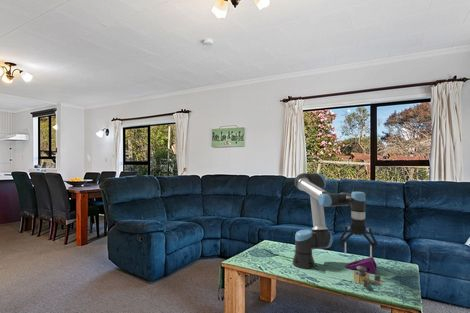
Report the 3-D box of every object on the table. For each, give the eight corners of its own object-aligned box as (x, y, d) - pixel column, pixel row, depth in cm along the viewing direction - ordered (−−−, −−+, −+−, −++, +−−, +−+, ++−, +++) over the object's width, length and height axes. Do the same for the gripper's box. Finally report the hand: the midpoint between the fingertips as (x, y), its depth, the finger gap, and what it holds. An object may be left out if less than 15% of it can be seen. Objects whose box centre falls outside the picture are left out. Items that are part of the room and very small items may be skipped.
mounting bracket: (349, 280, 186) (377, 274, 177) (344, 267, 188) (370, 261, 179) (352, 275, 194) (378, 269, 185) (347, 263, 196) (372, 256, 187)
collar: (352, 276, 174) (352, 269, 174) (367, 278, 172) (367, 270, 172) (357, 288, 158) (357, 280, 158) (373, 290, 156) (373, 282, 156)
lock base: (338, 284, 166) (338, 269, 166) (335, 275, 179) (335, 261, 179) (390, 290, 159) (390, 275, 159) (383, 280, 172) (383, 265, 172)
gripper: (335, 217, 164) (334, 253, 164) (382, 221, 154) (382, 260, 154) (335, 215, 171) (335, 250, 171) (381, 219, 161) (381, 256, 161)
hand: (357, 255), depth 163 cm, fingers open, 13 cm apart
